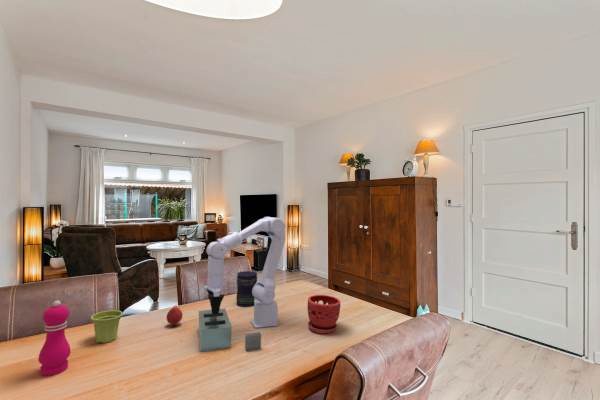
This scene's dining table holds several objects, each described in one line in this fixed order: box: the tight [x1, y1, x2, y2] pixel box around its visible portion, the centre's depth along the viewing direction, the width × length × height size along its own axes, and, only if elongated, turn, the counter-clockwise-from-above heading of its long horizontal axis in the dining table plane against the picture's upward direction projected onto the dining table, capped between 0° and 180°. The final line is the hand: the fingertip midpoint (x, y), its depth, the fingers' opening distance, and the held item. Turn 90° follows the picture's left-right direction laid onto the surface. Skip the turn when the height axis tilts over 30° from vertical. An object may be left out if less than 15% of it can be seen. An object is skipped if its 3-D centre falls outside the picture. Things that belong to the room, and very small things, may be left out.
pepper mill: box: [38, 299, 72, 377], centre depth 88 cm, size 7×7×20 cm
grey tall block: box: [244, 331, 262, 352], centre depth 103 cm, size 5×2×5 cm, turn 110°
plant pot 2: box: [307, 294, 341, 334], centre depth 121 cm, size 13×13×12 cm
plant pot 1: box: [90, 309, 123, 344], centre depth 107 cm, size 9×9×9 cm
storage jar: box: [235, 270, 258, 308], centre depth 149 cm, size 10×10×15 cm
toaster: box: [197, 308, 232, 353], centre depth 111 cm, size 10×19×7 cm, turn 20°
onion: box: [166, 304, 183, 327], centre depth 121 cm, size 6×6×8 cm
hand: (214, 310), depth 114 cm, fingers open, 7 cm apart
